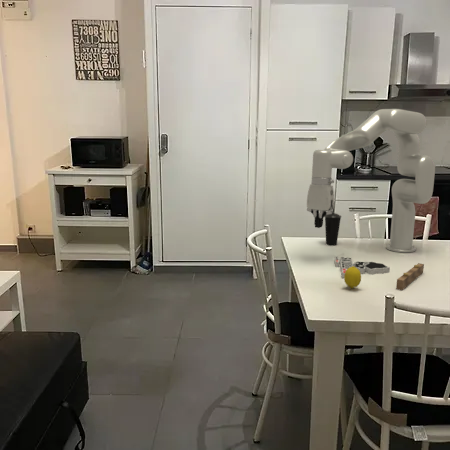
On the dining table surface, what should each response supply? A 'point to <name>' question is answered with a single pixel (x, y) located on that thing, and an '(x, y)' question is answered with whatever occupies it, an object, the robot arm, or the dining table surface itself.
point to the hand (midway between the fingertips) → (318, 227)
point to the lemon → (352, 277)
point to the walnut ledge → (409, 276)
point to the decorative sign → (361, 266)
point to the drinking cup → (332, 228)
